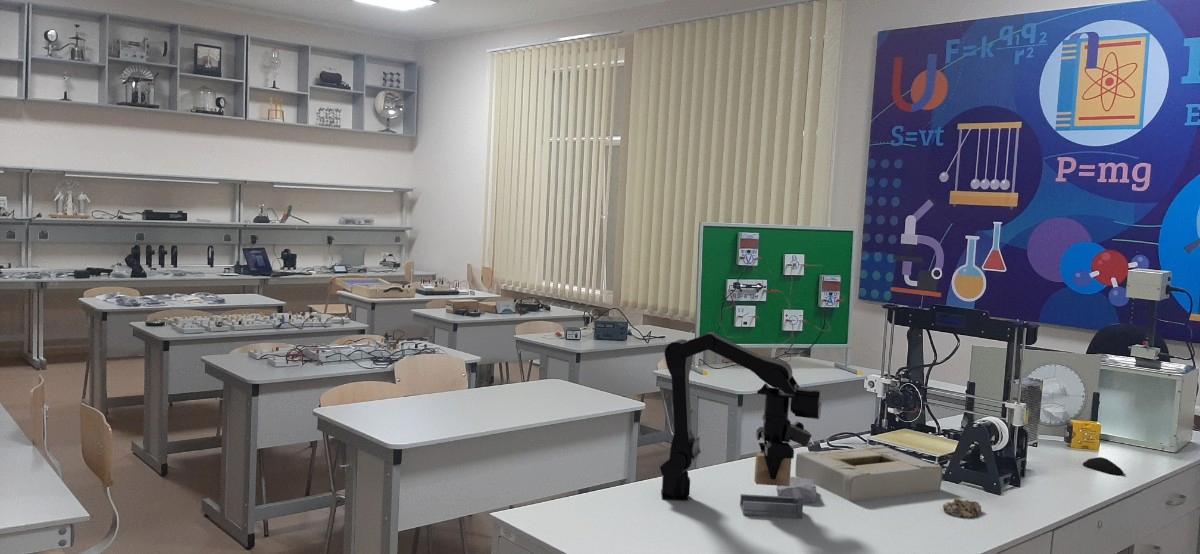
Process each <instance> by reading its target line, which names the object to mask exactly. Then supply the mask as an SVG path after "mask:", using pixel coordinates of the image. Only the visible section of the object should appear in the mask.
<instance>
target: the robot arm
mask: <svg viewBox="0 0 1200 554" xmlns="http://www.w3.org/2000/svg"><path fill="white" fill-rule="evenodd" d="M704 351H711V353H712V352H713V353H715V354H717V355H719V356H721V357H723V358H725V359H726V360H729V361H731V362H733V363H735V364H737V365H739V366H740V367H741V366H742V367H744V368H746V369H747V370H749V371H751V372H752V373H753V374H754V375H756V376H757V377H758V378H759V379H760V380H761V381H763V382H764V384H763V386H761V388H759V389H758V390H757V394H758V395H762V396H763V395H764V396H765V397H764V411H763V414H762V418H761V419H762V421H763V425H762V426H759V427H758V428H756V430H755V431H756V434H755V438H756V440H757V441H760V440H761V439H762V440H761V442H759V443H758V445H759V449H760V453H763V454H764V457H765V460H766V464H767V467H768V471H769V474H770V477H771V479H776V476H777V473H778V470H779V467H780V465H781V462H782V460H783V459H785V458H789V459H791V460H793V459H795V457H794V456H795V450H794V448H793V447H792V445H790V444H789V443H791V441H792V442H795V443H797V444H799V445H801V447H804V448H807V446H808V444H809V442H810V440H811V438H812V434H811V432H810V431H809V430H807V429H805V428H804V427H805V425H804V423H802V422H800V421H798V420H797V421H795V422H794V423H791V420H789V410H790V412H791V413H792V414H794V417H796V418H797V417H799V418H807V419H812V420H814V419H815V420H820V419H821V418H820V417H821V411H822V405H823V404H822V399H821V398H822V397H821V392H822V391H821V390H820V389H805V388H804V389H803V388H801V387H800V385H799V384H798V382H797V381H796V379H795V378H794V376H793V369H792V367H791V365H790V364H789V363H788V362H787V361H784V360H781V359H777V358H774V357H770V356H764V355H760V354H757V353H756V352H753V351H751V350H748V348H745V347H743V346H740V345H738V344H737V343H734V342H732V341H730V340H728V339H726V338H724V337H723V336H721V335H719V334H717V333H716V332H713V331H711V332H707V333H705V334H703V335H701V336H697V337H695V338H692V339H690V340H687V339H677V340H675V341H673V342H670V343H669V344H668V345H667V346H666V347H665V349H664V358H665V363H666V367H667V369H668V373H669V374H670V377H671V391H672V392H671V393H672V394H671V395H672V412H673V413H672V415H673V416H672V417H673V435H672V440H671V444H670V450H669V451H670V452H669V459H667V460H666V461H665V462H663V464H661V465H660V466H659V470H660V471H661V472H660V473H661V475H662V477H661V478H662V481H661V489H660V494H661V499H662V500H663V499H664V500H677V501H678V500H681V501H688V499H689V496H690V489H691V488H690V487H691V478H690V477H689V473H688V469H690V467H691V466H692V465H693V464H694V463H695V462H696V461H697V460H698V458H699V455H700V454H701V450H700V442H701V441H700V440H701V439H700V437H699V436H697V437H695V436H694V434H693V431H692V414H691V412H692V411H691V393H690V372H691V370H692V369H691V368H692V365H693V359H694V355H697V354H700V353H702V352H704ZM789 407H790V409H789Z"/></svg>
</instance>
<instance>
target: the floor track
mask: <svg viewBox="0 0 1200 554" xmlns="http://www.w3.org/2000/svg"><path fill="white" fill-rule="evenodd" d="M739 500H740V501H739V507H740V509H741V510H740V511H741V513H742V516H754V517H770V518H771V517H773V518H787V519H790V518H791V519H803V511H804V509H803V506H804V502H803V497H802V495H801V493H800V492H799V490H798V489H793V495H792V497H782V496H778V495H764V494H762V495H761V494H745V493H742V494H741V493H740V499H739Z"/></svg>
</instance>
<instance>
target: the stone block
mask: <svg viewBox="0 0 1200 554" xmlns="http://www.w3.org/2000/svg"><path fill="white" fill-rule="evenodd" d="M793 489H798V490H799V492H800V493H801V495H802V497H803V503H808V504H810V503H811V504H815V503H816V502H817V485H814V480H813V479H811V480H810V479H804V478H800V477H797V476H790V486H777V485H776V493H777V496H782V497H792V495H793Z"/></svg>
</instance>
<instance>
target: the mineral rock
mask: <svg viewBox="0 0 1200 554" xmlns="http://www.w3.org/2000/svg"><path fill="white" fill-rule="evenodd" d="M942 507H943V512H944V513H947V514H949V515H951V516H952V517H956V518H957V517H958V518H965V519H970V518H975V517H977V516H980V515H982V506H981V505H980V503H979V502H978V501H971V500H968V499H967V500H962V499H959V498H954V499H953V501H952V502H950V501H948V502H945V503H944V504H943V505H942Z"/></svg>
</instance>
